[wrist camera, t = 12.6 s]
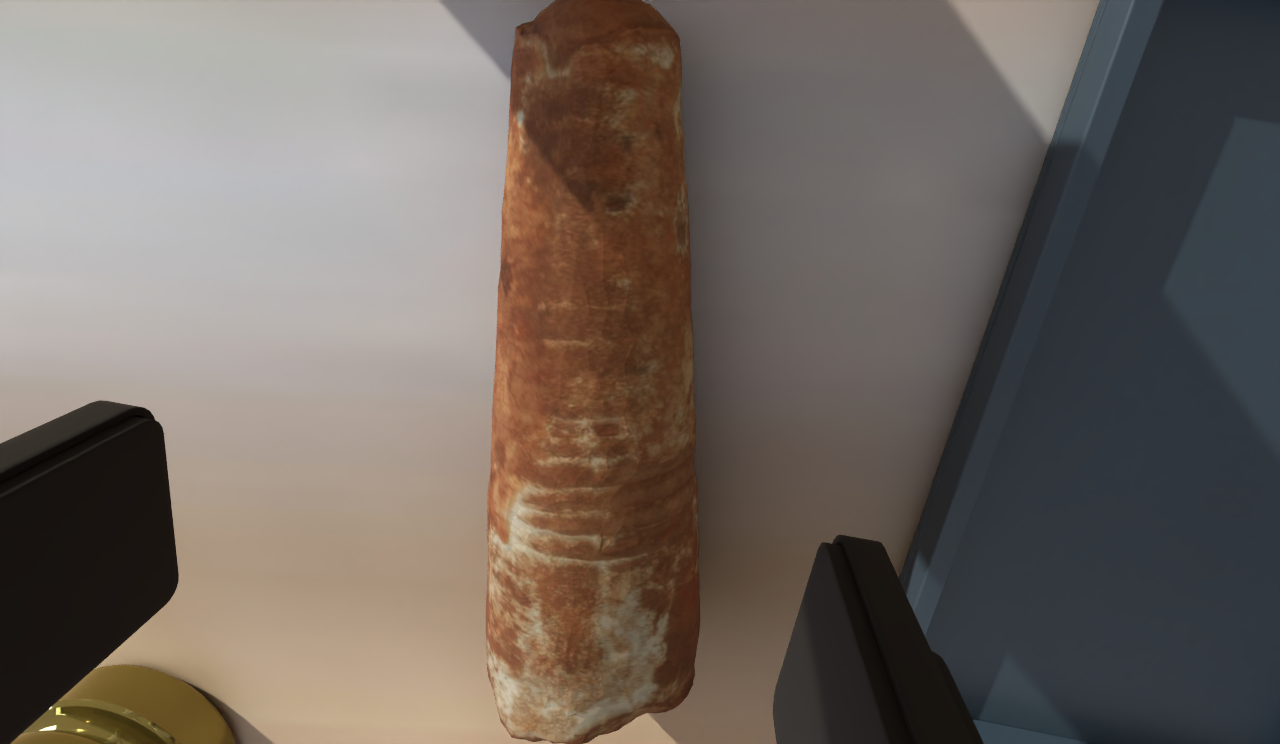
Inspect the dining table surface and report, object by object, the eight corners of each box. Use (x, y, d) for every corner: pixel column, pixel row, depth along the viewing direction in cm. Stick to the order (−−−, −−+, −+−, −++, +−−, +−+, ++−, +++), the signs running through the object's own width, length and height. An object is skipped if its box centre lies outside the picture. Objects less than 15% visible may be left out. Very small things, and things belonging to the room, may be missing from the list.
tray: (1119, -59, 16) (1161, -80, 14) (1757, 41, 15) (1867, 30, 14) (855, 705, 23) (865, 741, 22) (1273, 789, 23) (1311, 831, 21)
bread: (515, 613, 23) (458, 747, 18) (514, 5, 17) (428, -62, 12) (694, 633, 23) (690, 777, 18) (757, 16, 17) (780, -48, 11)
